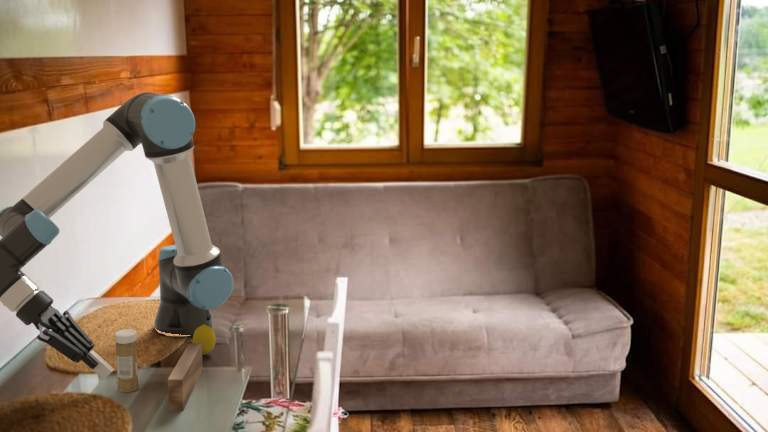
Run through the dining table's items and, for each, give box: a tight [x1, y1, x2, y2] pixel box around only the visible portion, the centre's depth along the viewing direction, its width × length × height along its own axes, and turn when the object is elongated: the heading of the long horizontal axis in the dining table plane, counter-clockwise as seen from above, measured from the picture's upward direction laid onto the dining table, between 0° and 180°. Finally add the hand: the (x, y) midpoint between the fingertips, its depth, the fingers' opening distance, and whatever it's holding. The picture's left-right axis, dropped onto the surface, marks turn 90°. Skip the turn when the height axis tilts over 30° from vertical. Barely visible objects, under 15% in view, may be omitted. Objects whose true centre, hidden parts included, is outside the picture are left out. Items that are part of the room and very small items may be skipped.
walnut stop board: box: [167, 342, 203, 411], centre depth 174 cm, size 3×20×7 cm, turn 1°
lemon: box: [192, 324, 217, 356], centre depth 193 cm, size 6×6×8 cm
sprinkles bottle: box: [114, 328, 140, 393], centre depth 173 cm, size 5×5×13 cm
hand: (108, 374), depth 173 cm, fingers closed
